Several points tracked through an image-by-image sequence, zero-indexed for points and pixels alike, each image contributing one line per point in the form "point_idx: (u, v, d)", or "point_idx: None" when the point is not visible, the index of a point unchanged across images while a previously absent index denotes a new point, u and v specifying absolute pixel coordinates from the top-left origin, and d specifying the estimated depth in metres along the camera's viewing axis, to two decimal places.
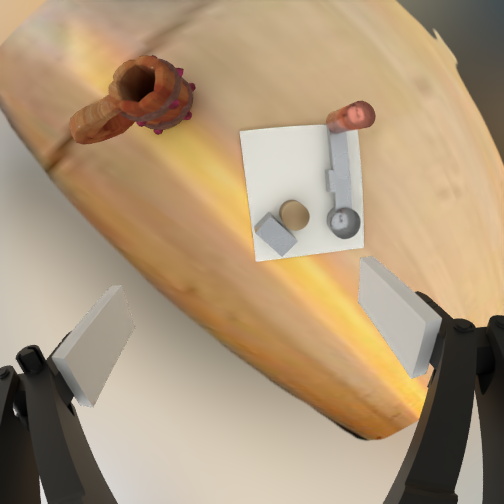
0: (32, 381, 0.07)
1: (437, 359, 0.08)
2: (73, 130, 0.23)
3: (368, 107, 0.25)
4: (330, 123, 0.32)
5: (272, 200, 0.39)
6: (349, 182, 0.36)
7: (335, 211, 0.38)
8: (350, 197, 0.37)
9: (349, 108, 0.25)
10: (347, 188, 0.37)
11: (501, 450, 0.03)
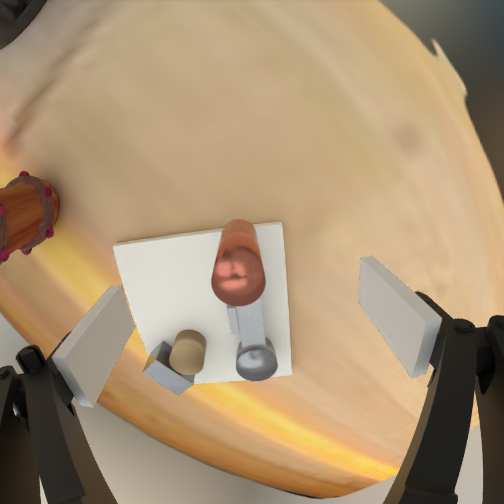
0: (32, 381, 0.07)
1: (437, 359, 0.08)
2: None
3: (251, 268, 0.15)
4: None
5: (165, 329, 0.30)
6: (260, 319, 0.27)
7: (242, 352, 0.28)
8: (263, 336, 0.27)
9: (212, 274, 0.15)
10: (258, 327, 0.27)
11: (501, 450, 0.03)
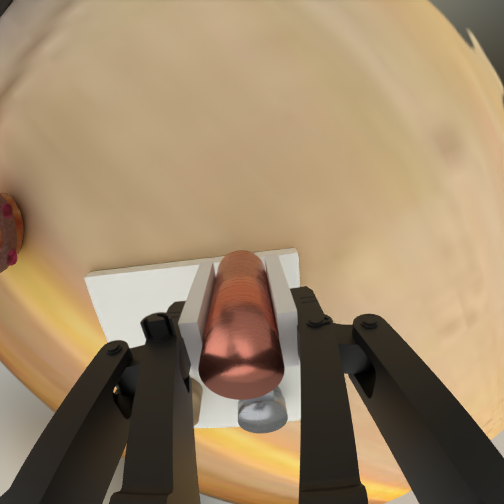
0: (153, 350, 0.09)
1: None
2: None
3: (261, 353, 0.09)
4: None
5: None
6: None
7: (245, 405, 0.21)
8: None
9: None
10: None
11: (413, 452, 0.05)
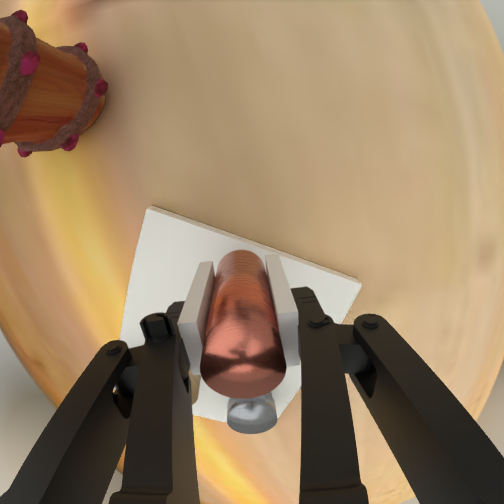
0: (152, 350, 0.09)
1: (300, 357, 0.10)
2: None
3: (265, 352, 0.09)
4: None
5: None
6: None
7: (235, 404, 0.21)
8: None
9: (201, 356, 0.09)
10: None
11: (414, 452, 0.05)
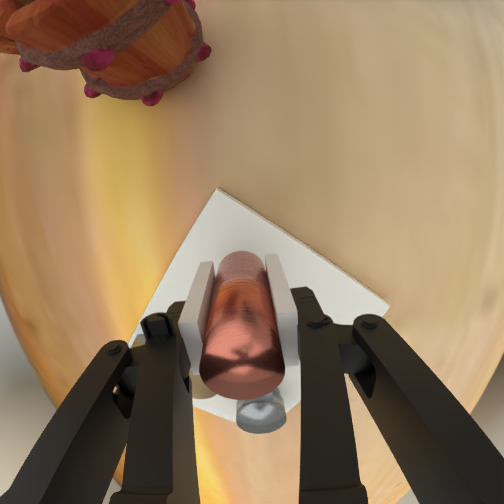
0: (153, 350, 0.09)
1: None
2: None
3: (262, 353, 0.09)
4: None
5: None
6: None
7: (243, 405, 0.21)
8: None
9: (200, 359, 0.09)
10: None
11: (413, 452, 0.05)
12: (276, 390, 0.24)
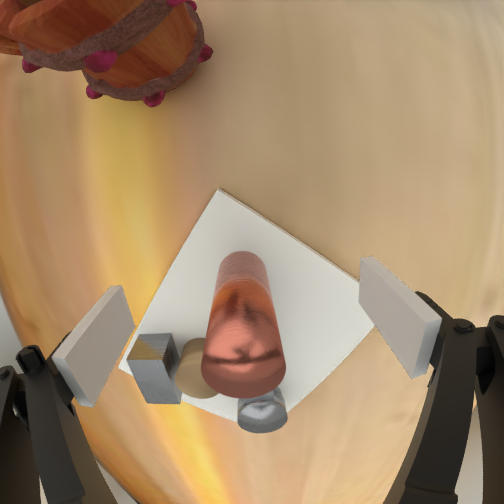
0: (32, 381, 0.07)
1: (437, 359, 0.08)
2: None
3: (263, 352, 0.09)
4: None
5: (187, 324, 0.22)
6: None
7: (244, 404, 0.22)
8: None
9: (202, 358, 0.09)
10: None
11: (501, 450, 0.03)
12: (277, 390, 0.24)
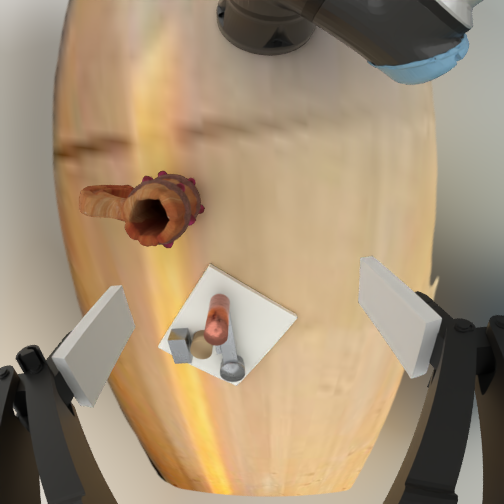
0: (32, 381, 0.07)
1: (437, 359, 0.08)
2: (80, 206, 0.26)
3: (221, 330, 0.33)
4: None
5: (195, 323, 0.46)
6: (233, 346, 0.45)
7: (223, 364, 0.46)
8: (235, 355, 0.45)
9: (204, 332, 0.34)
10: (232, 350, 0.45)
11: (501, 450, 0.03)
12: (240, 358, 0.48)
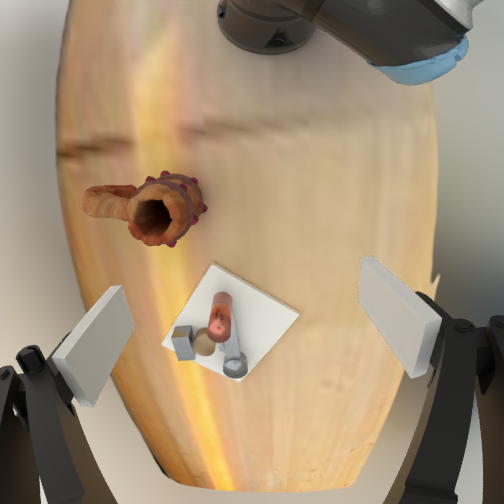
0: (32, 381, 0.07)
1: (437, 359, 0.08)
2: (84, 207, 0.27)
3: (223, 327, 0.34)
4: None
5: (199, 321, 0.47)
6: (236, 343, 0.45)
7: (226, 361, 0.47)
8: (238, 352, 0.46)
9: (207, 329, 0.34)
10: (235, 347, 0.46)
11: (501, 450, 0.03)
12: (243, 355, 0.49)
